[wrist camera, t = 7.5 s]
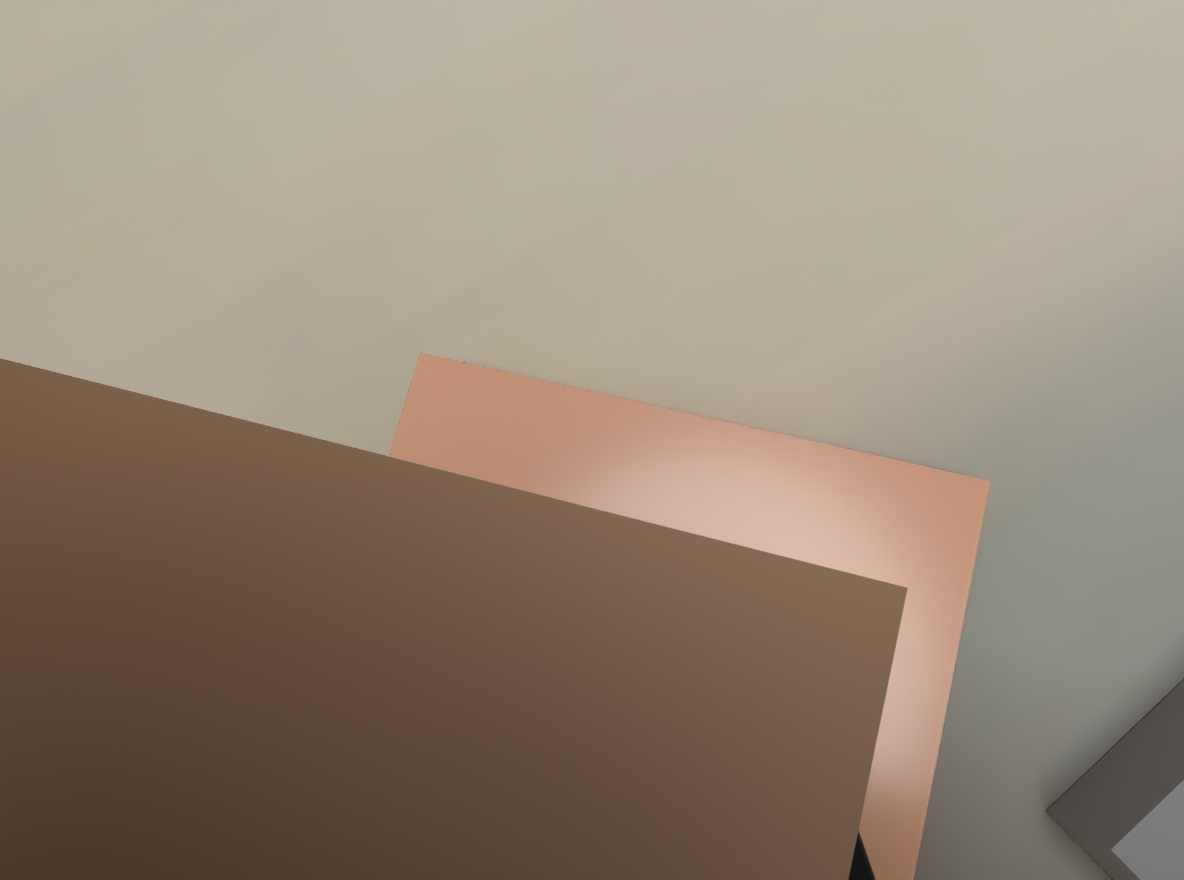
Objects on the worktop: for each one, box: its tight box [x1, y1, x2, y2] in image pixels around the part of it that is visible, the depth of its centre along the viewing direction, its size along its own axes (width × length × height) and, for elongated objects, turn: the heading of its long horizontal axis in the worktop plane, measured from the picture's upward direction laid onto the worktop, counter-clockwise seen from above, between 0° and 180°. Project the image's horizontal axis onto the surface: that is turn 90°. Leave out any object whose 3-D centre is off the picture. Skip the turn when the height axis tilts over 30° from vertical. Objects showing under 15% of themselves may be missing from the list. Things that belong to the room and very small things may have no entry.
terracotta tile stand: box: [388, 353, 990, 880], centre depth 18 cm, size 12×12×2 cm
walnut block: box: [0, 359, 908, 880], centre depth 10 cm, size 5×5×12 cm
